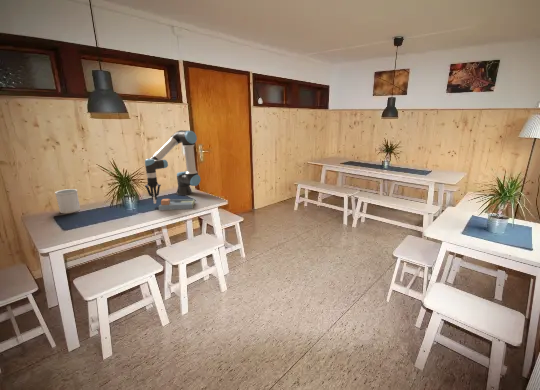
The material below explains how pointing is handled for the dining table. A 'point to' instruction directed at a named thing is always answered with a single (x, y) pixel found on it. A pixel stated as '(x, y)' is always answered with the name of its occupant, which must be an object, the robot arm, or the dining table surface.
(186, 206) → the trap tray
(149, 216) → the dining table surface
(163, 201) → the block
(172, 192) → the dining table surface
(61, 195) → the utensil holder
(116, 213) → the dining table surface
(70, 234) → the dining table surface
